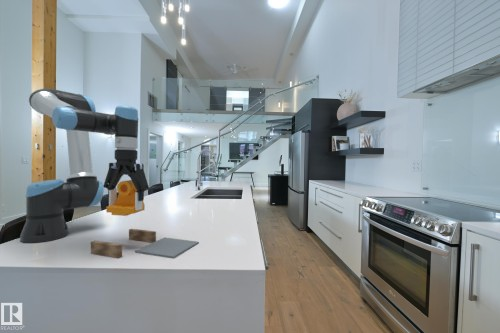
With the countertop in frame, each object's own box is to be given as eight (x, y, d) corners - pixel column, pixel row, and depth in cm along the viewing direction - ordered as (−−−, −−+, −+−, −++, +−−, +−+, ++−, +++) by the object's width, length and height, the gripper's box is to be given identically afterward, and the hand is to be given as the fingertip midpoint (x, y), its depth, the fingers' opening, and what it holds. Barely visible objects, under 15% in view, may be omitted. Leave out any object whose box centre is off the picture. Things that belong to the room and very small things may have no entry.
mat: (134, 252, 84) (134, 250, 84) (164, 238, 99) (164, 237, 99) (173, 258, 79) (173, 256, 79) (198, 243, 94) (198, 241, 94)
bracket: (104, 214, 87) (105, 181, 86) (118, 210, 94) (119, 179, 93) (132, 216, 85) (133, 182, 85) (144, 212, 92) (144, 180, 92)
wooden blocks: (90, 253, 83) (90, 241, 83) (131, 238, 100) (131, 228, 100) (118, 258, 79) (118, 246, 79) (155, 241, 96) (155, 231, 96)
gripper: (92, 148, 89) (91, 207, 89) (145, 149, 82) (144, 213, 82) (110, 149, 96) (109, 204, 97) (160, 150, 89) (159, 209, 89)
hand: (125, 208), depth 89 cm, fingers closed on bracket, 11 cm apart
